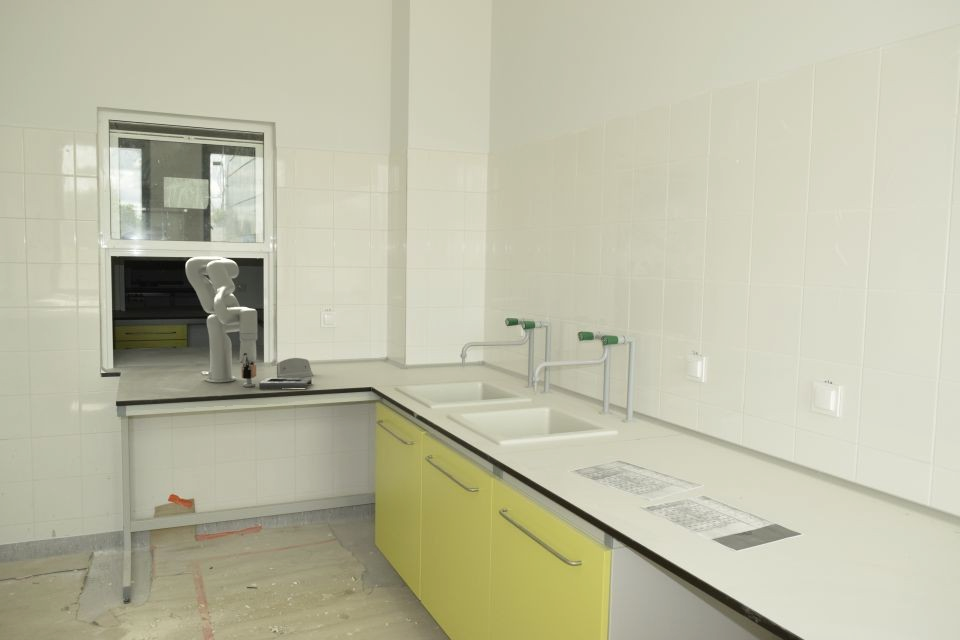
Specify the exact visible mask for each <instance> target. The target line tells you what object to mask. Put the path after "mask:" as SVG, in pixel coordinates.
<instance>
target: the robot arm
mask: <svg viewBox="0 0 960 640" xmlns="http://www.w3.org/2000/svg"><path fill="white" fill-rule="evenodd" d="M239 274H240V268H239V266H238V264H237V262H235V261H234V260H232V259H228V258H226V257H221V256H195V257H194V256H193V257H191V258H189V259H188V260H187V261H186V262H185V275H186V277H187V278H186V279H187V280H188V282H189V283H190V285H191V287H192V288H193V289H194V291H195V292H196V295H197V297H198V300H199V302H200V305H201V307H202V309H203V311H205V312H206V313H207V314H210V315H208V316H207V318H206V327H207V332H208V339H209V365H210V366H209V371H201V373H200V374H201V376H202V377H207V378H206V381H207V382H208V383H216V384H217V383H228V382H234V381H236V380H237V376H233V353H232V347H233V346H232V341H231V338H230V336H229V335H228V334H227V333H235V332H239V341H240V346H239V363H240V364H242V366H243V378H242V379H244V380H245V379H246V380H247V379H250V378H251V370H250V365H256V364H255V361H256V360H257V341H258V311H257V310H256V309H255V308H249V307H246V306H241V305H240V303H239V301H238V299H237V297H236V296H235V295H234V294H233V293H234V292H235V290H236V285H235V284H234V281H233V279H236V278H237V277H238V276H239ZM207 276H208V278H207ZM251 379H252V378H251Z"/></svg>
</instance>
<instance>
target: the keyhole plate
mask: <svg viewBox="0 0 960 640" xmlns="http://www.w3.org/2000/svg"><path fill="white" fill-rule="evenodd" d="M312 380H313V379H312V377H299V378H277V377H266V378H264V379H263V380H261V381H259V382H258V387H259V388H258V389H259V390H283V389H282V388H306V389H307V385H306V384H311V385H312V382H313V381H312Z"/></svg>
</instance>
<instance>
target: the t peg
mask: <svg viewBox="0 0 960 640" xmlns="http://www.w3.org/2000/svg"><path fill="white" fill-rule="evenodd" d="M250 370H251V378H250V379H246V382H243V384H242V386H243V388H252V387H255V386H256V383H255V382H252V379H254V378H255V377H257V364H255V365H250ZM241 379H244V378H243V365H241Z"/></svg>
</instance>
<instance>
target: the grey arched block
mask: <svg viewBox="0 0 960 640" xmlns="http://www.w3.org/2000/svg"><path fill="white" fill-rule="evenodd" d="M308 376H309V377H313V376H314V373H313V371H312V368H311V365H310V361H309V360H308V359H306V358H301V357H291V358H286V359H283V360H281V361H279V362H277V364H276V378H297V377H299V378H309V377H308Z"/></svg>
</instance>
